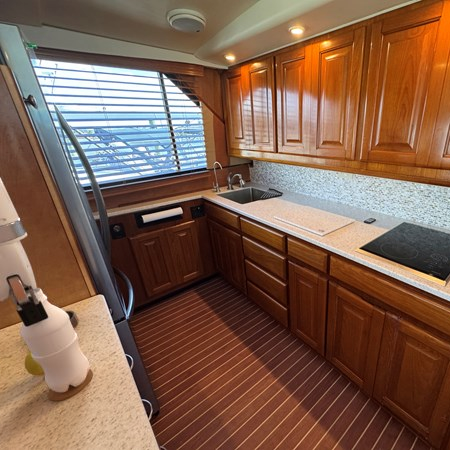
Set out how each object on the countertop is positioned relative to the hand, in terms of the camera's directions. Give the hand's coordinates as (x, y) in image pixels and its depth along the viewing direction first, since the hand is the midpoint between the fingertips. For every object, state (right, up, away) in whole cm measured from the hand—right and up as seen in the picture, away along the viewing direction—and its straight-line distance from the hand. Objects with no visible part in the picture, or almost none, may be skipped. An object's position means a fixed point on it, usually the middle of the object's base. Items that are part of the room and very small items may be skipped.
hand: (35, 314), depth 48 cm
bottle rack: (-19, -13, +24) cm, 33 cm away
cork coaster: (0, -19, +7) cm, 20 cm away
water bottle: (+1, -19, +8) cm, 20 cm away
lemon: (-8, -18, +10) cm, 23 cm away
